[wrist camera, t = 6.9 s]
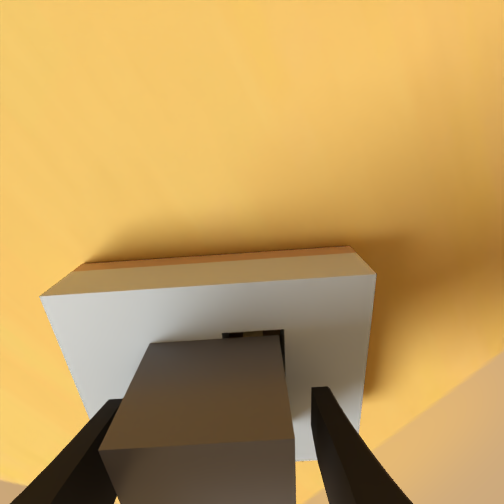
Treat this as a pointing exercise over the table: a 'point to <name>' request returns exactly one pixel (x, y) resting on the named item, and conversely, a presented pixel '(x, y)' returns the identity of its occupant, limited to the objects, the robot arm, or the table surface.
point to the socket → (222, 320)
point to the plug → (205, 426)
